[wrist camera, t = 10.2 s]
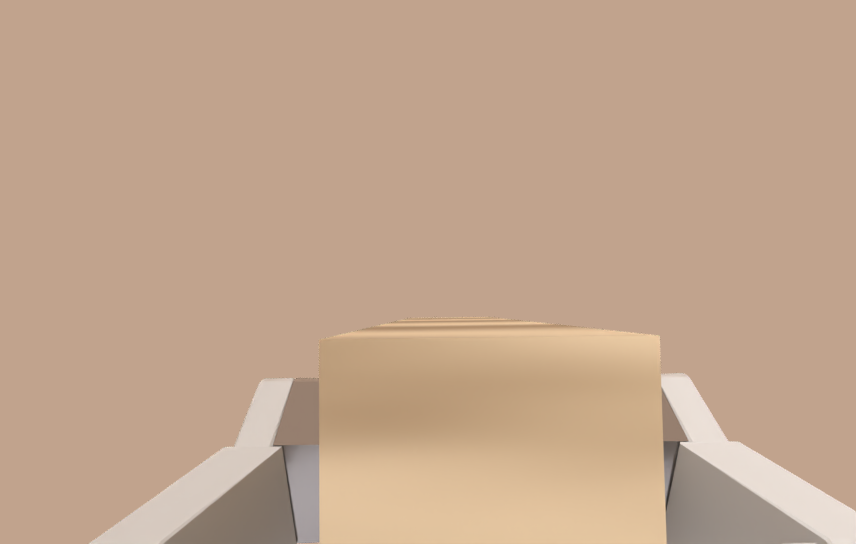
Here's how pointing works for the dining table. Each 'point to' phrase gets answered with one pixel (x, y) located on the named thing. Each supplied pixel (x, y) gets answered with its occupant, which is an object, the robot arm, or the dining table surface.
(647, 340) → the beech block
